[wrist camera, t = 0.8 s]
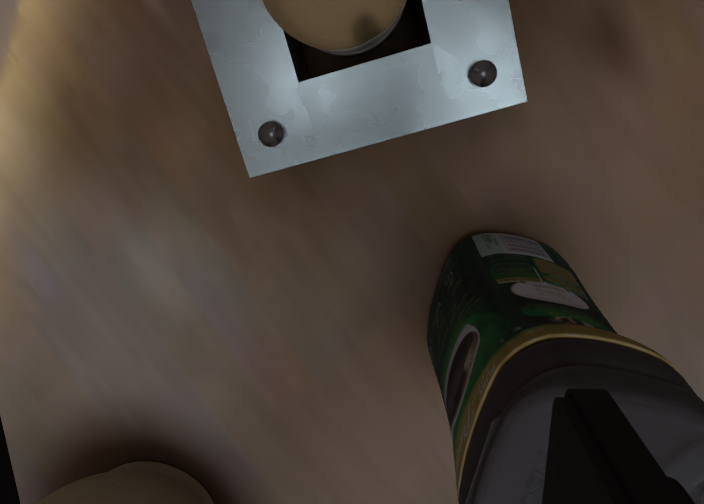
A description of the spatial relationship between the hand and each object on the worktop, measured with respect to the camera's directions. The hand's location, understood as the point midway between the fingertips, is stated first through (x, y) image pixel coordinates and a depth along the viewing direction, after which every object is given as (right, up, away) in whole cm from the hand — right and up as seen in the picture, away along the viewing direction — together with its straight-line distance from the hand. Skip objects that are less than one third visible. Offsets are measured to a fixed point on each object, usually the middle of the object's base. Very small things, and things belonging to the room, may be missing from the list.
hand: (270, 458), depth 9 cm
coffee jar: (+10, 0, +26) cm, 28 cm away
